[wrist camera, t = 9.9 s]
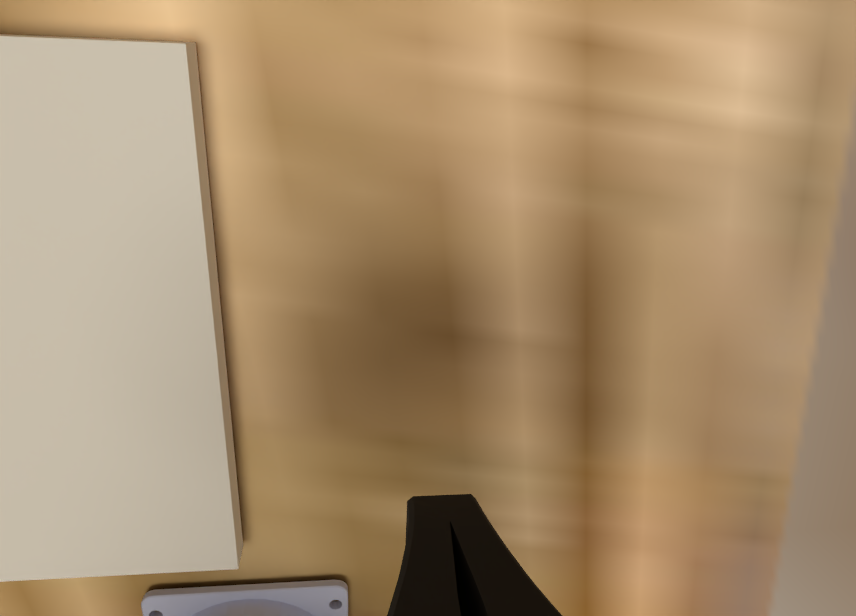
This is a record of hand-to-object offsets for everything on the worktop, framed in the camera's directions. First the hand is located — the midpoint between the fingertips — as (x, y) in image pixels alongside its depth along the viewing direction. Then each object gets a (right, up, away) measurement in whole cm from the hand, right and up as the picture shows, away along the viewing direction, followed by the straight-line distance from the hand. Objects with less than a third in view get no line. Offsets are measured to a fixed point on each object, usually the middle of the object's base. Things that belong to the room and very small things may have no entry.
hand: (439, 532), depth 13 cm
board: (-13, +4, +7) cm, 16 cm away
